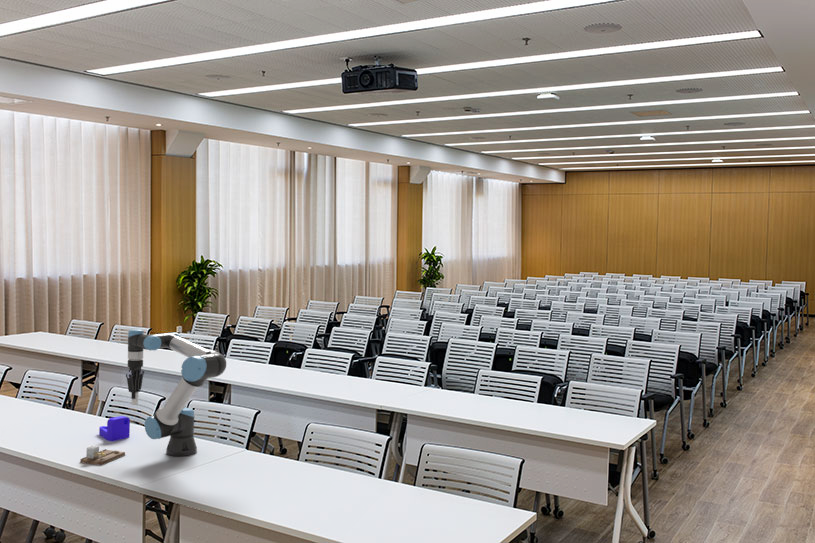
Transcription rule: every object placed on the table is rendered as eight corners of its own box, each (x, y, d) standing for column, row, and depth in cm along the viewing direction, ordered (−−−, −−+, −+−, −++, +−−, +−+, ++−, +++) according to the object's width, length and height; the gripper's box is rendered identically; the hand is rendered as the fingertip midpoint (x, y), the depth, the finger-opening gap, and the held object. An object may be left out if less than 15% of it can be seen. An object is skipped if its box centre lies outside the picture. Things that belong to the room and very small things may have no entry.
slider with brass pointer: (107, 457, 354) (108, 447, 353) (102, 460, 350) (102, 449, 350) (91, 455, 356) (92, 445, 356) (86, 458, 352) (86, 447, 352)
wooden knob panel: (125, 455, 365) (125, 450, 365) (101, 465, 348) (101, 459, 348) (104, 452, 368) (104, 447, 368) (80, 462, 351) (80, 457, 351)
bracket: (129, 437, 398) (129, 416, 398) (111, 441, 389) (112, 420, 389) (109, 432, 408) (110, 411, 408) (92, 435, 399) (92, 414, 399)
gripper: (136, 357, 379) (135, 401, 380) (121, 360, 367) (120, 406, 367) (149, 358, 378) (148, 402, 378) (134, 361, 365) (133, 407, 366)
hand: (134, 404), depth 373 cm, fingers closed
